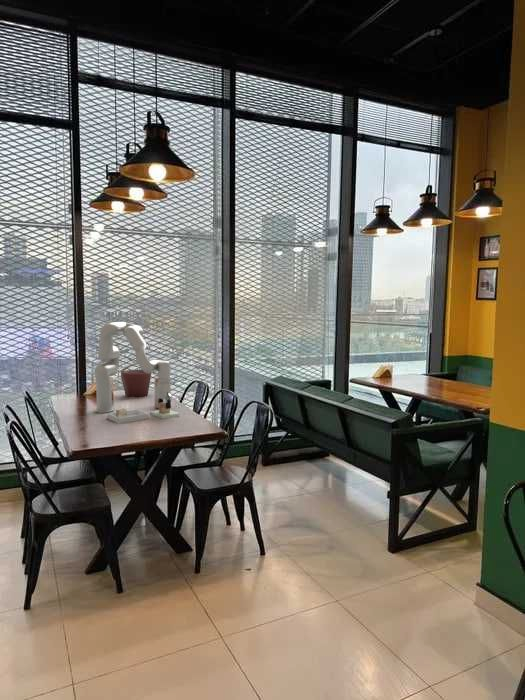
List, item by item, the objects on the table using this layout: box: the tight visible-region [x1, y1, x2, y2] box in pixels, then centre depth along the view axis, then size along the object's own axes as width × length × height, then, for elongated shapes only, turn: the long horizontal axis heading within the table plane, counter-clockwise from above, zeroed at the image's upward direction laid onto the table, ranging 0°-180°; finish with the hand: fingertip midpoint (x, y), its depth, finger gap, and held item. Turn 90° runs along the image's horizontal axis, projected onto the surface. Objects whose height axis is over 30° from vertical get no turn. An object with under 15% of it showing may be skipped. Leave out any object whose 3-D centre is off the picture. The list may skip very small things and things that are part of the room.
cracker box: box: [154, 376, 168, 410], centre depth 339 cm, size 14×6×21 cm, turn 168°
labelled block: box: [158, 402, 171, 414], centre depth 314 cm, size 5×5×6 cm
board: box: [149, 409, 180, 419], centre depth 315 cm, size 16×12×2 cm
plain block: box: [115, 408, 128, 418], centre depth 302 cm, size 5×5×6 cm
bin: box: [107, 408, 150, 424], centre depth 305 cm, size 16×20×4 cm
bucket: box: [120, 362, 152, 399], centre depth 376 cm, size 24×22×25 cm
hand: (164, 407), depth 314 cm, fingers open, 9 cm apart
